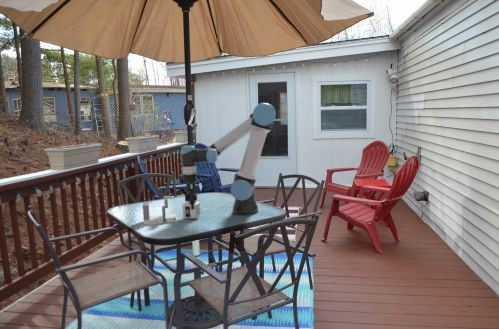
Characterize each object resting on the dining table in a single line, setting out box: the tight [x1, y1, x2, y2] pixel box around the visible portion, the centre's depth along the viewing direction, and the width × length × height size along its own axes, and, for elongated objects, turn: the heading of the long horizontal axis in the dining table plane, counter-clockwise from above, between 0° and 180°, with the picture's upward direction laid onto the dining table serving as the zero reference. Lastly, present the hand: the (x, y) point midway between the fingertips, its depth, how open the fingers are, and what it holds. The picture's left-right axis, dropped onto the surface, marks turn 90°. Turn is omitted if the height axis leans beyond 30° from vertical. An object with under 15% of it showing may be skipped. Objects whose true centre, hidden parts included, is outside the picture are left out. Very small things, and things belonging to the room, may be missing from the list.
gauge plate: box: [161, 195, 169, 222], centre depth 208 cm, size 3×10×12 cm, turn 15°
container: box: [182, 193, 201, 219], centre depth 212 cm, size 8×8×13 cm
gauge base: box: [142, 201, 177, 226], centre depth 208 cm, size 17×9×10 cm, turn 105°
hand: (191, 212), depth 213 cm, fingers closed on container, 10 cm apart
